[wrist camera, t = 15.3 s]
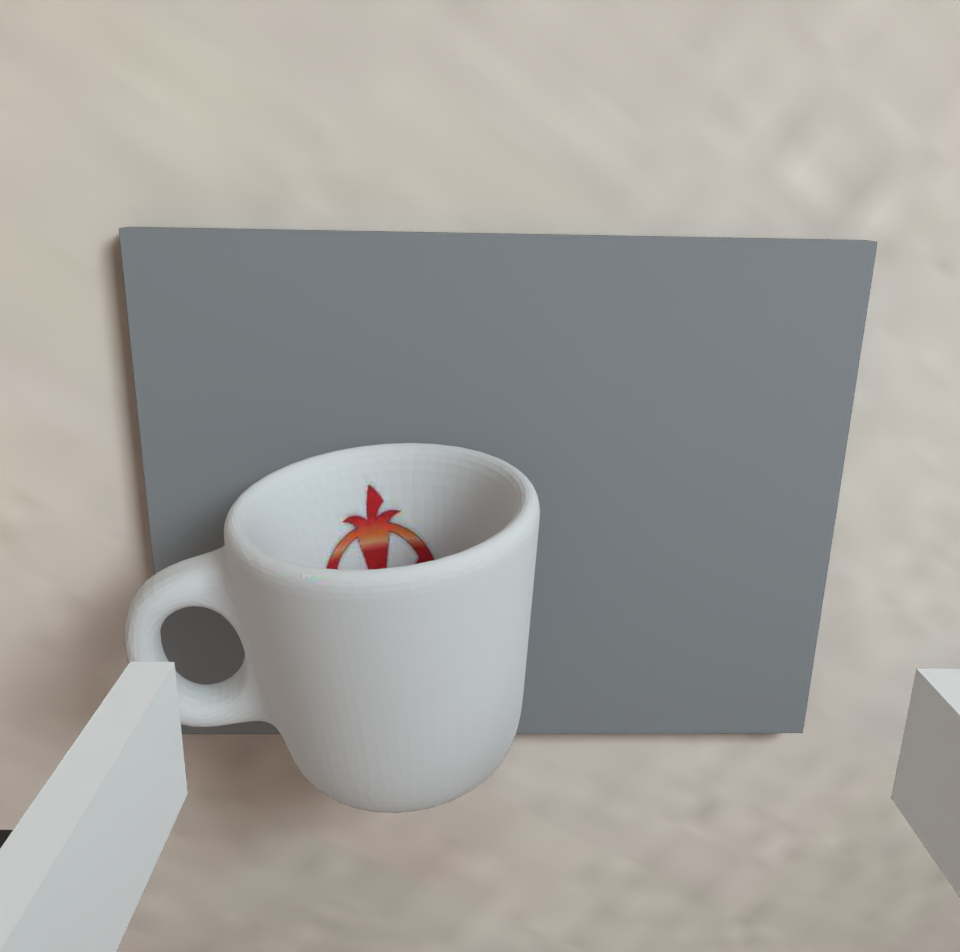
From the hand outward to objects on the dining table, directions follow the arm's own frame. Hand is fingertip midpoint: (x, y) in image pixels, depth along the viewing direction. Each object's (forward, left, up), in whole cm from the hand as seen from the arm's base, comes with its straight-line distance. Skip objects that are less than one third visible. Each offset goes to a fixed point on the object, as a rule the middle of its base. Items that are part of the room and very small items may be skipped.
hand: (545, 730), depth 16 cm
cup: (+4, +7, -8) cm, 11 cm away
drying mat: (0, 0, -13) cm, 13 cm away
